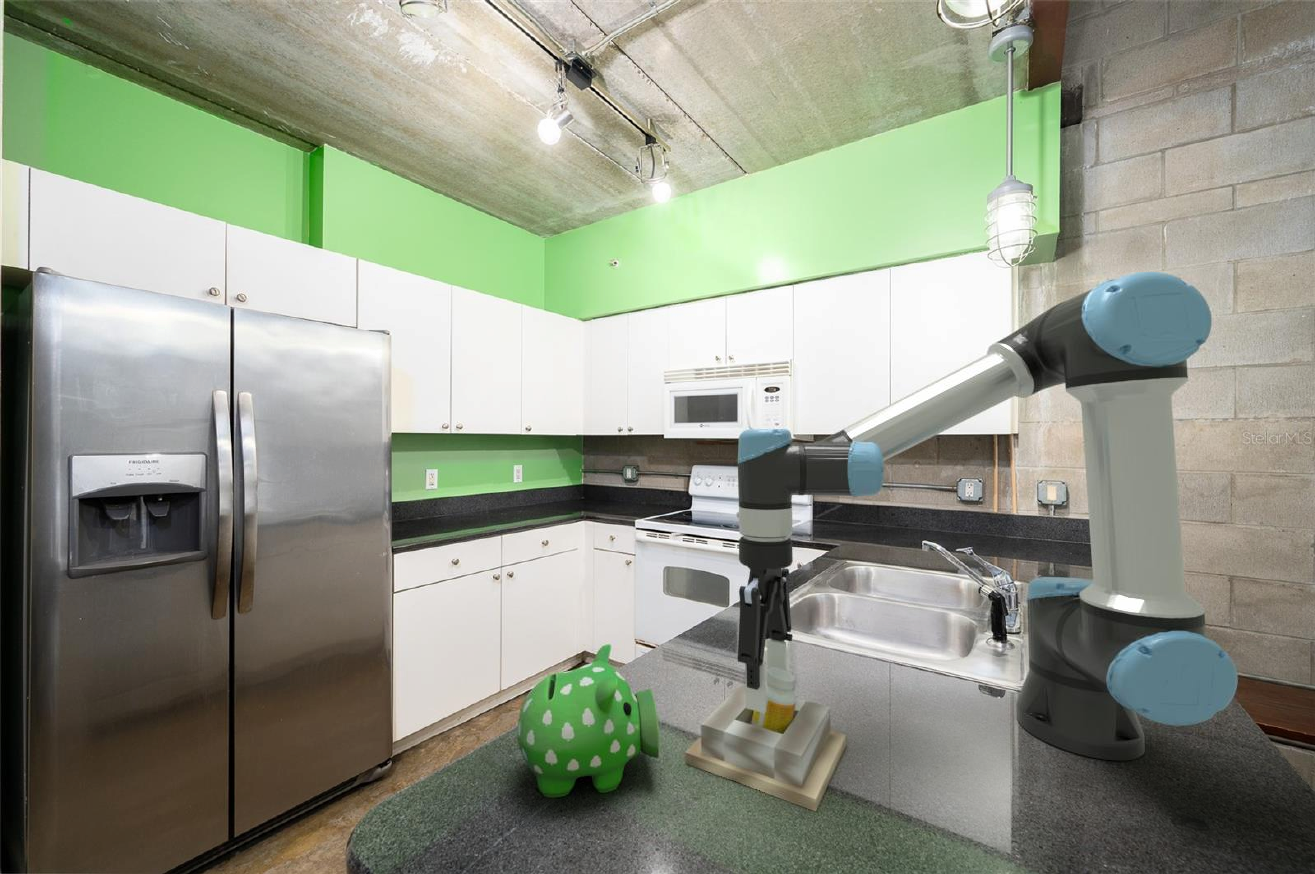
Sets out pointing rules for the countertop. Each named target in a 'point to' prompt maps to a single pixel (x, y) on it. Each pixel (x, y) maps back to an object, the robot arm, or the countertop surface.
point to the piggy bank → (586, 727)
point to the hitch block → (770, 750)
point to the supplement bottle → (777, 701)
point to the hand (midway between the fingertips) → (767, 696)
